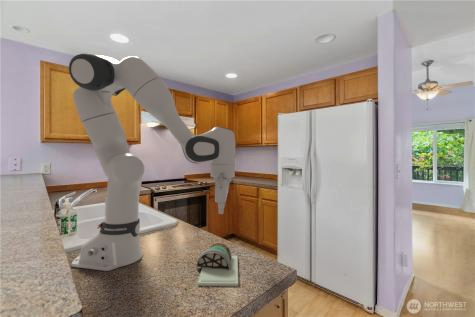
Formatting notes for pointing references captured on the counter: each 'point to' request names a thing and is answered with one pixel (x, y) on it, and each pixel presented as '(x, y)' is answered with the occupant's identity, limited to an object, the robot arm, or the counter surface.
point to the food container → (215, 257)
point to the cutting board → (220, 275)
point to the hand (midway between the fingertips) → (221, 210)
